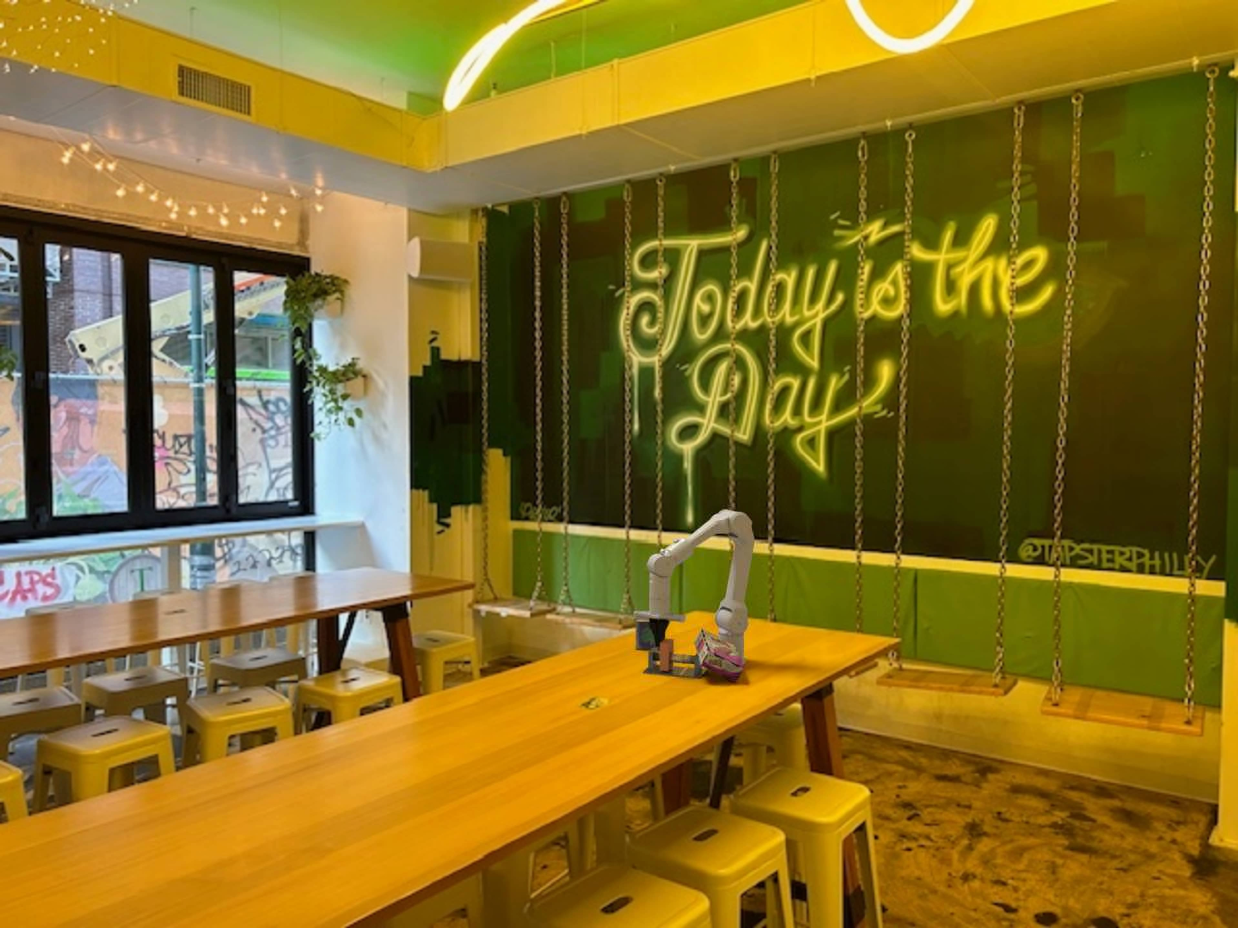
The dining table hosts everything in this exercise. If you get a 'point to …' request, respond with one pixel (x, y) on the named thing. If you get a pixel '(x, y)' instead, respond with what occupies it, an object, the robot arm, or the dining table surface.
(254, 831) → the dining table surface
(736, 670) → the candy bar box
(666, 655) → the orange block
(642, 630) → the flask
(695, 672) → the pipe rig
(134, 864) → the dining table surface
